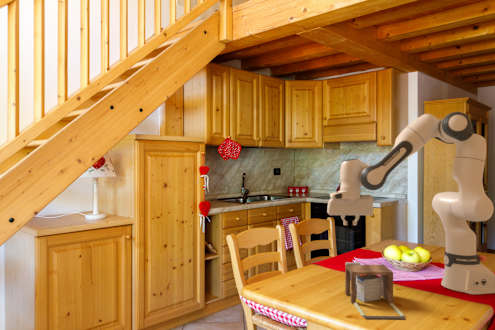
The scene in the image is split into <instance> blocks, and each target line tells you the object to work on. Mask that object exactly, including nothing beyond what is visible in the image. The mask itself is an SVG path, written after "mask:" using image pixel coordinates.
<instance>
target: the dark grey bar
mask: <svg viewBox="0 0 495 330" xmlns="http://www.w3.org/2000/svg"><path fill="white" fill-rule="evenodd" d="M363 318H364V319H365V320H406V317H404V316H400V315H398V316H397V315H365V316H364V317H363Z"/></svg>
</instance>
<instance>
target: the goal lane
mask: <svg viewBox="0 0 495 330" xmlns="http://www.w3.org/2000/svg"><path fill="white" fill-rule="evenodd" d="M353 305H354V307H355V309H356V310H357V311H358V313H359V314H360V316H361V317H362V318H364V316H366V314H365V313H364V311H363V310H362V308H361V307H360V305H359V304H358V303H357V302H356V303H353ZM389 306H390V307H392V309H393V310H394V311H395V312H396V313H397V314H398V316H404V318H406V317H405V314H404V313H403V312H402V311H401V310H400V309H399V308H398V307H397V305H395V304H394V302H393V303H390V304H389Z"/></svg>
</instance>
